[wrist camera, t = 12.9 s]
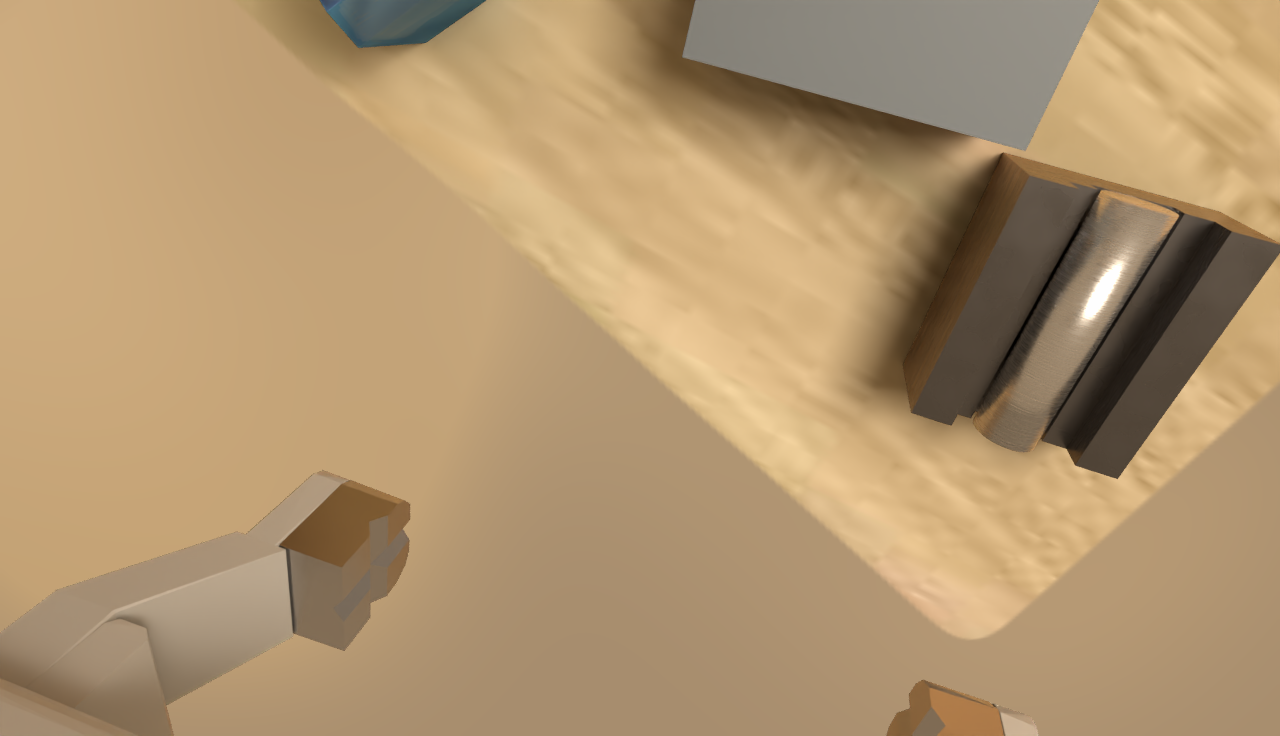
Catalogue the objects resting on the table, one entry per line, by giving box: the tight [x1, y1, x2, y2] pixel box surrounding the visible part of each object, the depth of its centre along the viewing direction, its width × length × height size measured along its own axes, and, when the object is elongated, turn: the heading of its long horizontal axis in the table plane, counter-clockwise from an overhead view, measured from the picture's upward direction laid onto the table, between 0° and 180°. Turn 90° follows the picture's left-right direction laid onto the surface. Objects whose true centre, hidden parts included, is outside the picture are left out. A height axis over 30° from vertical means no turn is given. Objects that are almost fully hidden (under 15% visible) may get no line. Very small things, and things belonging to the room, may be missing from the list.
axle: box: [973, 190, 1179, 452], centre depth 32 cm, size 12×3×3 cm, turn 167°
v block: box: [903, 153, 1280, 479], centre depth 34 cm, size 12×10×6 cm
